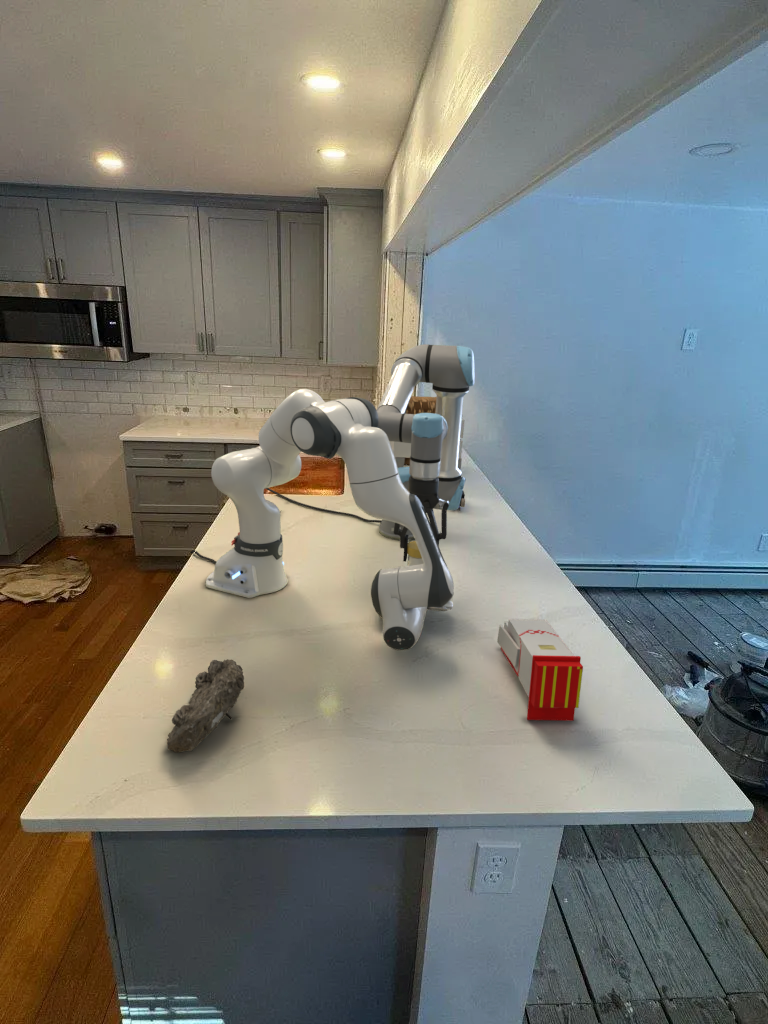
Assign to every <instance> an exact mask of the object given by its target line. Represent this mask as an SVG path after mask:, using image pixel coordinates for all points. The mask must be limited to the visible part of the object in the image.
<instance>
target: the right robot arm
mask: <svg viewBox="0 0 768 1024" xmlns="http://www.w3.org/2000/svg"><path fill="white" fill-rule="evenodd" d="M390 370H391V371H390V375H391V376H390V379H389V380H388V383H387V385H386V387H385V390H384V392H383V395H382V397H381V399H380V401H379V403H378V406H377V408H376V411H377V413H378V418H379V424H378V428H379V429H381V430H383V431H384V432H385V433H386V435H387V437H388V439H389V441H394V442H404V443H411V456H410V466H404V467H400V468H398V472H399V476H400V479H401V481H402V484H403V485H404V487H405V488H406V489H407V491H408V492H409V493H410V494H413V495H416V496H417V497H418V498H419V500H420V501H421V503H422V505H423V507H424V510H425V512H426V515H427V517H428V519H429V522H430V524H431V527H432V530H433V532H434V535H435V538H436V540H437V543H438V546H439V547H440V541H441V540H446V539H447V535H448V511H457V510H459V509H458V508H459V504H460V500H461V496H462V492H463V491H464V486H465V483H466V478H465V477H464V476H462V469H461V470H460V469H459V468H458V456H459V444H460V439H461V438H460V432H461V420H462V419H463V408H464V398H465V395H467V394H468V393H469V392H470V387H473V386H474V385H475V379H476V378H475V373H476V371H475V370H476V369H475V355H474V351H473V349H472V348H471V347H469V346H461V345H449V344H448V345H446V344H443V345H442V344H426V343H425V344H424V343H423V344H418V345H415V346H412V347H411V348H409V349H407V350H405V351H404V352H402V353H401V354H400V355H399V356H397V358H396V359H395V360H394V362H393V364H392V367H391V369H390ZM419 383H425V384H432V386H431V387H432V388H431V390H432V391H433V393H435V395H436V396H435V397H436V412H435V413H419V414H404V413H405V411H406V408H407V405H408V403H409V400H410V397H411V396H413V392H414V390H415V387H416V386H418V385H419ZM264 490H267V491H268V492H270V493H273V494H274V495H276V496H278V497H280V498H281V499H284V500H286V501H287V502H288V501H289V502H291V503H293V504H295V505H298V506H301V507H305V508H308V509H312V510H316V511H319V512H325V513H330V514H335V515H341V516H347V517H352V518H354V519H358V520H360V521H362V522H366V523H377V524H379V525H378V533H379V534H380V535H381V536H382V537H385V538H387V539H389V540H395V541H399V548H400V549H403V555H402V556H403V560H402V562H407V561H408V554H407V544H408V543H409V541H410V540H411V541H412V540H415V538H414V536H413V534H412V532H411V531H410V530H409V529H408V528H406V527H405V526H403V525H401V524H398V523H395V522H392V521H387V520H382V519H367V518H364V517H361V516H360V515H356V514H353V513H349V512H344V511H338V510H333V509H332V510H331V509H326V508H321V507H316V506H313V505H309V504H306V503H302V502H299V501H297V500H295V499H292V498H289V497H287V496H285V495H283V494H281V493H279V492H277V491H276V490H273V489H271V488H270V487H269V488H265V489H264ZM434 510H441V513H440V514H441V515H440V517H441V519H440V520H441V521H440V522H441V525H440V527H441V529H440V530H441V532H440V531H439V527H438V524H437V521H436V516H435V511H434Z"/></svg>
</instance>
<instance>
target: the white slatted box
mask: <svg viewBox="0 0 768 1024" xmlns="http://www.w3.org/2000/svg"><path fill="white" fill-rule="evenodd" d="M436 397H437V396H415V395H414V396H413V395H411V397H410V400H409V403H408V405H407V408H406V411H405V413H404V414H419V413H435V412H436ZM464 429H465V419H464V418H462V420H461V432H460V444H459V456H458V468H459V469H460V470H461V471H462V461H463V460H462V453H463V442H464V441H463V440H462V439H463V438H464V431H465V430H464ZM390 444H391V447H392V449H393V453H394V456H395V459H396V463H397V467H398V468H400V467H405V466H406V467H410V456H411V443H404V442H394V441H390Z"/></svg>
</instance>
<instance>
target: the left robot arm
mask: <svg viewBox="0 0 768 1024" xmlns="http://www.w3.org/2000/svg"><path fill="white" fill-rule="evenodd" d="M376 410H377V408H376V406H375V405H374V404H373V403H372V402H371V401H370V400H368V399H366V398H363V397H356V396H349V397H344V398H338V399H331V400H328V401H325V400H324V399H323V398H322V397H321V395H320V394H318V393H317V392H316V391H314V390H312V389H309V388H299V389H296V390H295V391H293V392H291V394H289V395H288V396H287V397H285V399H283V400H282V401H281V403H279V405H277V407H276V408H275V409H274V411H273V412H272V413H271V415H270V416H269V417H268V418H267V420H266V421H265V423H264V424H263V425H262V427H261V428H260V429H259V432H258V444H259V446H256V447H252V448H247V449H241V450H236V451H231V452H228V453H226V454H224V455H221V456H219V457H217V458H216V459H215V460H214V461H213V464H212V466H211V470H210V471H211V473H210V476H211V480H212V483H213V485H214V486H215V488H216V489H217V490H218V492H220V493H221V494H223V495H225V496H227V497H228V498H229V499H230V501H231V502H232V503H233V504H234V507H235V510H236V512H237V519H238V528H239V529H238V530H239V531H238V533H237V535H236V536H234V537H233V539H232V540H231V541H230V543H231V546H233V545H234V546H233V547H232V548H231V549H229V550H228V551H226V552H225V553H224V554H222V555H221V556H220V557H219V558H218V559H217V561H216V560H215V559H213V558H210V557H207V556H204V555H201V553H199V552H198V551H197V550H195V549H193V550H191V551H190V553H189V554H195V555H196V556H198V557H199V558H200V559H203V560H206V561H209V562H210V563H212V564H214V569H213V571H212V572H211V573H210V574H209V575H208V576H207V578H206V579H205V587H206V588H209V589H211V590H216V591H219V592H224V593H228V594H232V595H235V596H240V597H244V598H248V599H251V598H255V597H258V596H261V595H267V594H271V593H276V592H277V591H280V590H282V589H284V588H285V587H286V586H287V584H288V577H287V574H286V571H285V567H284V566H285V562H284V560H283V555H284V541H283V535H282V530H281V529H282V528H281V510H280V508H279V507H278V506H277V505H276V503H274V502H273V501H271V500H267V499H266V498H265V494H264V492H265V490H266V489H265V488H269V489H270V488H272V487H278V486H281V485H284V484H287V483H288V482H290V481H293V480H294V479H296V478H298V477H299V475H300V473H301V471H302V457H301V455H300V454H301V453H303V454H305V455H308V456H314V457H320V458H325V459H328V460H331V459H333V458H334V457H335V456H336V455H337V456H338V457H340V458H341V459H342V461H343V462H344V464H345V468H346V472H347V476H348V483H349V488H350V491H351V496H352V498H353V501H354V504H355V505H356V507H357V508H358V509H359V510H360V511H362V512H363V513H364V514H366V515H368V516H370V517H372V518H375V519H377V520H387V521H392V522H395V523H398V524H401V525H403V526H405V527H406V528H408V529H409V530H410V531H411V532H412V534H413V536H414V538H415V539H414V541H416V544H417V546H418V549H419V551H420V554H421V557H422V559H423V562H424V563H423V564H420V565H412V566H407V565H404V566H403V565H402V566H401V565H400V566H395V567H394V566H393V567H385V568H380V569H379V570H378V571H377V573H376V574H375V575H374V578H373V579H372V582H371V586H370V587H371V588H370V598H371V603H372V606H373V608H374V611H375V613H377V615H378V616H379V618H381V620H382V639H383V641H384V643H385V645H387V646H388V647H389V648H391V649H392V650H395V651H406V650H407V651H408V650H410V649H412V648H413V647H414V646H415V645H416V644H417V643H418V641H419V639H420V637H421V634H422V631H423V628H424V623H425V619H426V616H427V612H428V611H434V612H447V611H448V610H452V609H453V606H454V603H453V599H454V594H455V584H454V583H455V582H454V578H453V575H452V573H451V571H450V569H449V567H448V565H447V562H446V561H445V558H444V556H443V554H442V550H441V549H440V545H439V546H438V543H437V540H436V538H435V535H434V532H433V530H432V527H431V524H430V521H429V517H428V515H427V513H426V512H425V510H424V507H423V505H422V503H421V501H420V500H419V498H418V497H417V496H416V495H413V494H410V493H409V492H408V491H407V489H406V488H405V487H404V485H403V484H402V481H401V479H400V476H399V472H398V467H397V463H396V459H395V456H394V453H393V449H392V447H391V444H390V441H389V439H388V437H387V435H386V433H385V432H384V431H383V430H381V429H379V428H378V424H379V418H378V413H377V411H376ZM195 551H196V552H195ZM194 552H195V553H194Z"/></svg>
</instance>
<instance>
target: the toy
mask: <svg viewBox="0 0 768 1024" xmlns="http://www.w3.org/2000/svg"><path fill="white" fill-rule="evenodd" d="M498 626H499V627H498V634H497V644H498V646H500V650H501V652H502V653H503V655H504V657H505V658H506V661H508V663H509V665H510V667H511V668H512V670H513V671H514V673H515V675H516V677H518V680H519V682H520V684H521V686H522V687H523V690H524V692H525V693H526V695H527V697H528V702H527V703H528V704H527V712H526V720H527V721H562V722H563V721H567V722H568V721H570V722H572V721H574V719H575V714H576V713H575V712H576V709H578V708H579V705H580V697H581V687H582V680H583V672H584V671H583V670H584V666H583V664H582V663H581V656H580V655H575V654H574V653H573V651H572V650H571V649H570V648H569V647H568V646H567V644H566V643H565V642H564V640H563V639H562V638H561V636H560V635H559V634H558V633H557V631H556V630H555V629H554V627H553V626H552V625H551V624H550V623H549V621H548V620H547V619H539V618H538V619H534V618H533V619H532V618H508V621H504V623H503V624H499V625H498Z"/></svg>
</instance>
